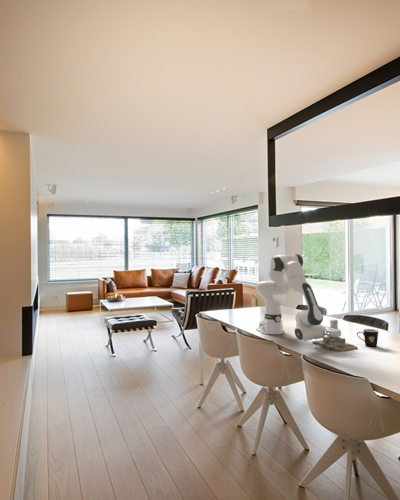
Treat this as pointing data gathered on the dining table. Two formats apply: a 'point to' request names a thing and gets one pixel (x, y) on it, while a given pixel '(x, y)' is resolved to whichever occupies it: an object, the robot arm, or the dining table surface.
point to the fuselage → (334, 326)
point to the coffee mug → (370, 337)
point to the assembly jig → (335, 344)
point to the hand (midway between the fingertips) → (335, 329)
